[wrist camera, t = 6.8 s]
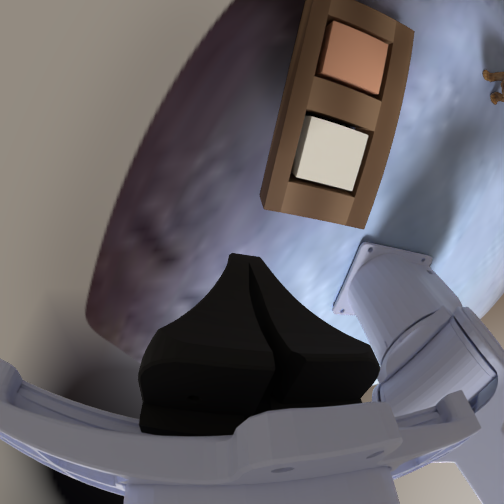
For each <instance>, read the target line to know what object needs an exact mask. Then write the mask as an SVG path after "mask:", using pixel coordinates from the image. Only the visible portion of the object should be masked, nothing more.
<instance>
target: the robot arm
mask: <svg viewBox="0 0 504 504" xmlns="http://www.w3.org/2000/svg"><path fill="white" fill-rule="evenodd" d="M370 247H371V249H370V250H368V249H369V248H370ZM431 263H432V257H431V256H429V255H425V254H420V253H416V252H411V251H407V250H402V249H398V248H393V247H388V246H384V245H379V244H374V243H369V242H363V243H362V244H361V245H360V247H359V249H358V252H357V254H356V257H355V259H354V262H353V264H352V266H351V269H350V271H349V273H348V276H347V278H346V280H345V282H344V285H343V287H342V289H341V291H340V293H339V296H338V298H337V300H336V302H335V304H334V306H333V309H332V310H333V313H334V314H341V315H356V317H357V319H358V321H359V323H360V324H361V326H362V328H363V330H364V332H365V334H366V336H367V339H368V341H369V343H370V345H371V346H370V345H369V344H366V343H364V342H362V341H360V340H357V339H355V338H353V337H351V336H349V335H347V334H345V333H343V332H341V331H339V330H338V329H336V328H334V327H332V326H331V325H329V324H328V323H326V322H325V321H323V320H322V319H320V318H319V317H317V316H316V315H315V314H313V313H312V312H311V311H309V310H308V309H307V308H306V307H305V306H303V305H302V304H301V303H300V302H299V301H298V300H297V299H296V298H294V297H293V296H292V295H291V293H290V292H289V291H288V290H287V289H286V288H285V287H284V286H283V285H282V284H281V283H280V282H279V280H278V279H277V278H276V277H275V276H274V274H273V273H272V272H271V271H270V269H269V268H268V267H267V265H266V264H265V263H264V261H263V260H262V259H261V258H260V257H256V256H249V255H242V254H236V253H231V254H230V255H229V258H228V264H227V266H226V268H225V270H224V272H223V273H222V275H221V277H220V278H219V280H218V281H217V283H216V284H215V285H214V287H213V288H212V289H211V290H210V292H209V293H208V294H207V295H206V296H205V297H204V298H203V299H202V300H201V301H200V302H199V303H198V304H197V305H196V306H195V307H193V308H192V309H191V310H190V311H188V312H187V313H185V314H184V315H183V316H181V317H180V318H178V319H177V320H175V321H174V322H172V323H170V324H168V325H166V326H164V327H162V328H160V329H158V331H157V332H156V334H155V335H154V337H153V338H152V340H151V342H150V343H149V345H148V347H147V349H146V351H145V354H144V356H143V358H142V362H141V366H140V370H139V374H138V381H139V387H140V391H141V396H142V400H143V405H142V409H141V414H140V420H139V419H135V418H130V417H126V416H122V415H118V414H114V413H111V412H107V411H103V410H100V409H96V408H93V407H90V406H87V405H84V404H81V403H77V402H75V401H72V400H69V399H66V398H63V397H61V396H59V395H56V394H53V393H51V392H49V391H46V390H43V389H41V388H39V387H37V386H34V385H32V384H30V383H28V382H26V381H24V380H22V378H21V376H20V374H19V372H18V371H17V370H16V368H15V367H13V366H12V365H11V364H10V363H8V362H6V361H4V360H2V359H0V439H1V440H3V441H4V442H6V443H7V444H9V445H10V446H12V447H14V448H15V449H17V450H19V451H20V452H22V453H24V454H26V455H27V456H29V457H31V458H33V459H35V460H37V461H38V462H40V463H42V464H44V465H46V466H48V467H50V468H52V469H54V470H56V471H58V472H61V473H63V474H65V475H67V476H70V477H72V478H74V479H77V480H79V481H82V482H84V483H87V484H89V485H92V486H95V487H98V488H100V489H103V490H106V491H109V492H113V493H116V494H119V495H123V496H124V504H400V502H399V499H398V495H397V492H396V488H395V485H394V482H393V480H394V479H397V478H399V477H402V476H404V475H406V474H408V473H411V472H413V471H415V470H417V469H419V468H422V467H424V466H426V465H428V464H430V463H435V462H436V463H437V462H438V463H439V462H452V463H455V464H456V466H457V467H458V469H459V470H460V471H461V473H462V474H463V476H464V477H465V479H466V480H467V482H468V483H469V485H470V486H471V488H472V489H473V491H474V492H475V494H476V496H477V497H478V499H479V500H480V501H481V503H482V504H504V350H503V349H502V347H501V345H500V344H499V343H498V341H497V340H496V339H495V337H494V336H493V335H492V333H491V332H490V331H489V330H488V328H487V327H486V326H485V325H484V324H483V322H482V321H481V320H480V319H479V318H478V317H477V316H476V314H475V313H474V312H473V311H472V310H471V309H470V308H469V307H462V304H461V302H460V300H459V298H458V297H457V296H456V295H455V294H454V292H453V291H452V290H451V289H450V288H449V287H448V286H447V285H446V284H445V283H444V281H443V280H442V279H441V278H440V277H439V276H438V275H437V274H436V273H435V272H434V271H433V270H432V269H431V268H430V265H431ZM342 309H343V310H342ZM371 347H372V348H371ZM372 349H373V350H372ZM373 351H374V352H373ZM374 353H375V354H374ZM375 355H376V356H375ZM376 357H377V358H376ZM377 359H378V361H379V363H378V361H377ZM379 364H380V366H381V367H380V366H379ZM376 379H378V381H379V384H378V385H377V386H376V387H375V388H374V390H373V394H372V402H366V403H362V401H361V397H362V396H363V395H364V393H365V392H366V391H367V390H368V389H369V388H370V387H371V386H372V384H373V383H374V382H375V380H376Z"/></svg>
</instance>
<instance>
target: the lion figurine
mask: <svg viewBox="0 0 504 504" xmlns="http://www.w3.org/2000/svg"><path fill="white" fill-rule="evenodd" d="M483 77H484V79H485V80H487V81H490V82H492V81H502V82H501V87H502V94H501V93H499V92H494V93H492V94H491V95H490V99H491V101H492V103H493V104H495V105H496V104H497V102H498V101H502V102H504V72H495V73H490V72H488V71H487V70H484V71H483Z"/></svg>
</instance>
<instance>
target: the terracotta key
mask: <svg viewBox="0 0 504 504" xmlns="http://www.w3.org/2000/svg"><path fill="white" fill-rule="evenodd" d="M387 49H388V44H386V43H384V42H382V41H380V40H378V39H376V38H374V37H372V36H370V35H367V34H365V33H363V32H361V31H358V30H356V29H354V28H351V27H349V26H346V25H344V24H341V23H339V22H336V21H333V22H331V23H330V24H329V25H327V26H326V27H325V31H324V35H323V40H322V44H321V49H320V53H319V58H318V62H317V66H316V71H315V75H314V76H316V77H319V78H322V79H325V80H328V81H331V82H334V83H337V84H339V85H342V86H345V87H348V88H350V89H353V90H355V91H358V92H360V93H363V94H365V95H369V94H379V90H380V85H381V81H382V76H383V71H384V66H385V61H386V55H387Z"/></svg>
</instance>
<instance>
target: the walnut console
mask: <svg viewBox="0 0 504 504" xmlns="http://www.w3.org/2000/svg"><path fill="white" fill-rule="evenodd" d="M333 21H336V22H339V23H341V24H344V25H346V26H349V27H351V28H354V29H356V30H358V31H361V32H363V33H365V34H367V35H370V36H372V37H374V38H376V39H378V40H380V41H382V42H384V43H386V44H388V49H387V55H386V61H385V66H384V71H383V76H382V81H381V85H380V90H379V94H369V95H365V94H363V93H360V92H358V91H355V90H353V89H350V88H348V87H345V86H342V85H339V84H337V83H334V82H331V81H328V80H325V79H322V78H319V77H316V76H314V75H315V71H316V66H317V62H318V58H319V53H320V49H321V44H322V40H323V35H324V31H325V27H326V26H327V25H329V24H330V23H331V22H333ZM413 39H414V31H413V30H412V29H410V28H408V27H407V26H405V25H403V24H401V23H400V22H398V21H396V20H394V19H392V18H390V17H389V16H387V15H385V14H383V13H381V12H379V11H377V10H375V9H373V8H371V7H368V6H366V5H364V4H362V3H360V2H357V1H355V0H306V1H305V4H304V8H303V12H302V17H301V21H300V25H299V29H298V33H297V37H296V42H295V46H294V50H293V54H292V58H291V63H290V67H289V71H288V75H287V79H286V84H285V88H284V92H283V96H282V101H281V105H280V109H279V114H278V118H277V122H276V126H275V131H274V135H273V139H272V144H271V148H270V152H269V157H268V161H267V165H266V170H265V174H264V178H263V183H262V187H261V191H260V198H261V202H262V205H263V208H264V209H265V210H271V211H276V212H282V213H287V214H292V215H297V216H302V217H308V218H313V219H317V220H322V221H327V222H332V223H337V224H341V225H346V226H351V227H355V228H360V229H364V228H365V225H366V223H367V220H368V217H369V215H370V212H371V209H372V206H373V203H374V200H375V197H376V194H377V191H378V188H379V185H380V182H381V179H382V176H383V173H384V170H385V166H386V163H387V160H388V156H389V153H390V149H391V146H392V142H393V138H394V135H395V131H396V127H397V123H398V119H399V115H400V110H401V106H402V102H403V97H404V92H405V87H406V82H407V77H408V71H409V66H410V60H411V53H412V46H413ZM306 112H309V113H312V114H316V115H319V116H322V117H326V118H329V119H332V120H335V121H338V122H341V123H344V124H347V125H350V126H353V127H355V128H356V129H355V130H356V131H359V132H361V133H364V134H367V135H368V139H367V143H366V146H365V150H364V153H363V157H362V160H361V164H360V167H359V171H358V174H357V177H356V180H355V184H354V187H353V190H352V191H349V190H346V189H342V188H338V187H334V186H330V185H326V184H322V183H318V182H314V181H310V180H306V179H302V178H297V177H296V176H295V175H294V174H290V173H291V169H292V165H293V161H294V157H295V153H296V149H297V145H298V141H299V137H300V133H301V129H302V125H303V121H304V117H305V113H306Z"/></svg>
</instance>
